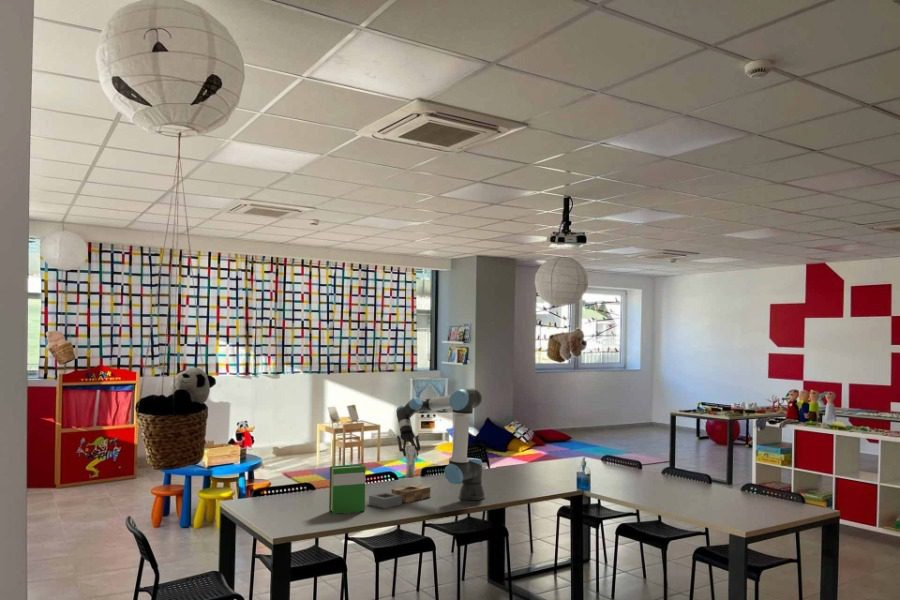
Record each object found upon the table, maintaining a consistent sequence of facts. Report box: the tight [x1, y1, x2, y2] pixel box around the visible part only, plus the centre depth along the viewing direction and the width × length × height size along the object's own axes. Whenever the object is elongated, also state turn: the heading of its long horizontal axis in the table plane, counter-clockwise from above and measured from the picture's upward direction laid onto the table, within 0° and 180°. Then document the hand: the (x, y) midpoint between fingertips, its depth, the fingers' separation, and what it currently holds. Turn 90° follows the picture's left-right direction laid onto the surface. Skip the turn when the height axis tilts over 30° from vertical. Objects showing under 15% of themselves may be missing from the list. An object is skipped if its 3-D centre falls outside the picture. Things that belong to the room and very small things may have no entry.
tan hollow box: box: [391, 484, 431, 503], centre depth 401 cm, size 12×20×6 cm, turn 137°
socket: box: [368, 491, 403, 509], centre depth 385 cm, size 13×13×5 cm
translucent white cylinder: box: [405, 444, 416, 479], centre depth 402 cm, size 5×5×18 cm
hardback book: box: [328, 464, 366, 515], centre depth 369 cm, size 18×7×24 cm, turn 114°
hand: (412, 460), depth 399 cm, fingers closed on translucent white cylinder, 5 cm apart
